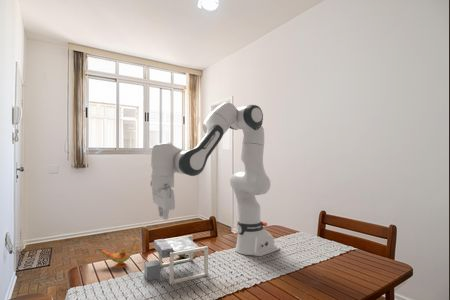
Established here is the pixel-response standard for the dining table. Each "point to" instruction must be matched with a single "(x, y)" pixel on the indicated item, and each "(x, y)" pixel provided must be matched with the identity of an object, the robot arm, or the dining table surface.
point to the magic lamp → (119, 256)
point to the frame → (185, 261)
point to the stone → (152, 269)
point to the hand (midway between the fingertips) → (163, 217)
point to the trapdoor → (173, 246)
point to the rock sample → (187, 255)
